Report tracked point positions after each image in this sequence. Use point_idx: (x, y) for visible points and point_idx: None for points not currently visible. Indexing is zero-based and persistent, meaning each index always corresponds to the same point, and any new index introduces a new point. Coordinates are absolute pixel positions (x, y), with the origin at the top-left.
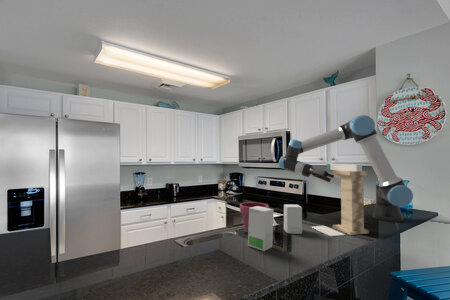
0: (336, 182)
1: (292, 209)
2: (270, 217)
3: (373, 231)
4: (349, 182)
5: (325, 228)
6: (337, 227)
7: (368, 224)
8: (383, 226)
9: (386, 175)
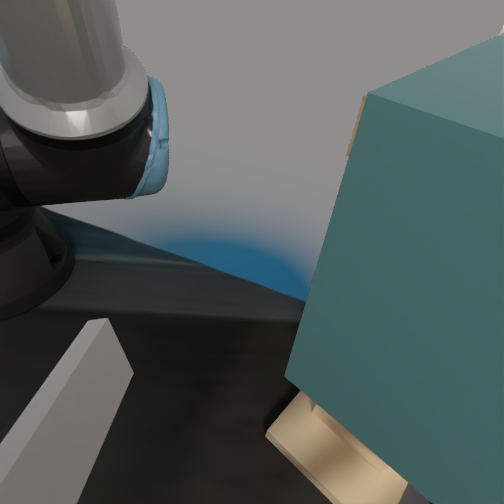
0: (89, 427)
1: None
2: None
3: (290, 335)
4: None
5: None
6: (398, 498)
7: (166, 349)
8: (177, 298)
9: (118, 35)
